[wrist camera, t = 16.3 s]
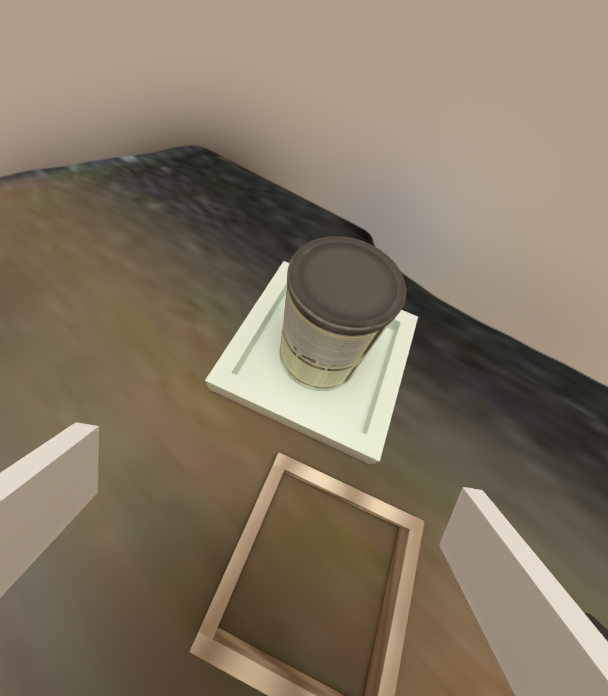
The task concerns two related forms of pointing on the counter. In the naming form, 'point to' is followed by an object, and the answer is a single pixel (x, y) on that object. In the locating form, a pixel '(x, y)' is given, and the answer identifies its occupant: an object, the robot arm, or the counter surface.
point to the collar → (305, 692)
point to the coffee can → (336, 309)
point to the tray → (307, 404)
